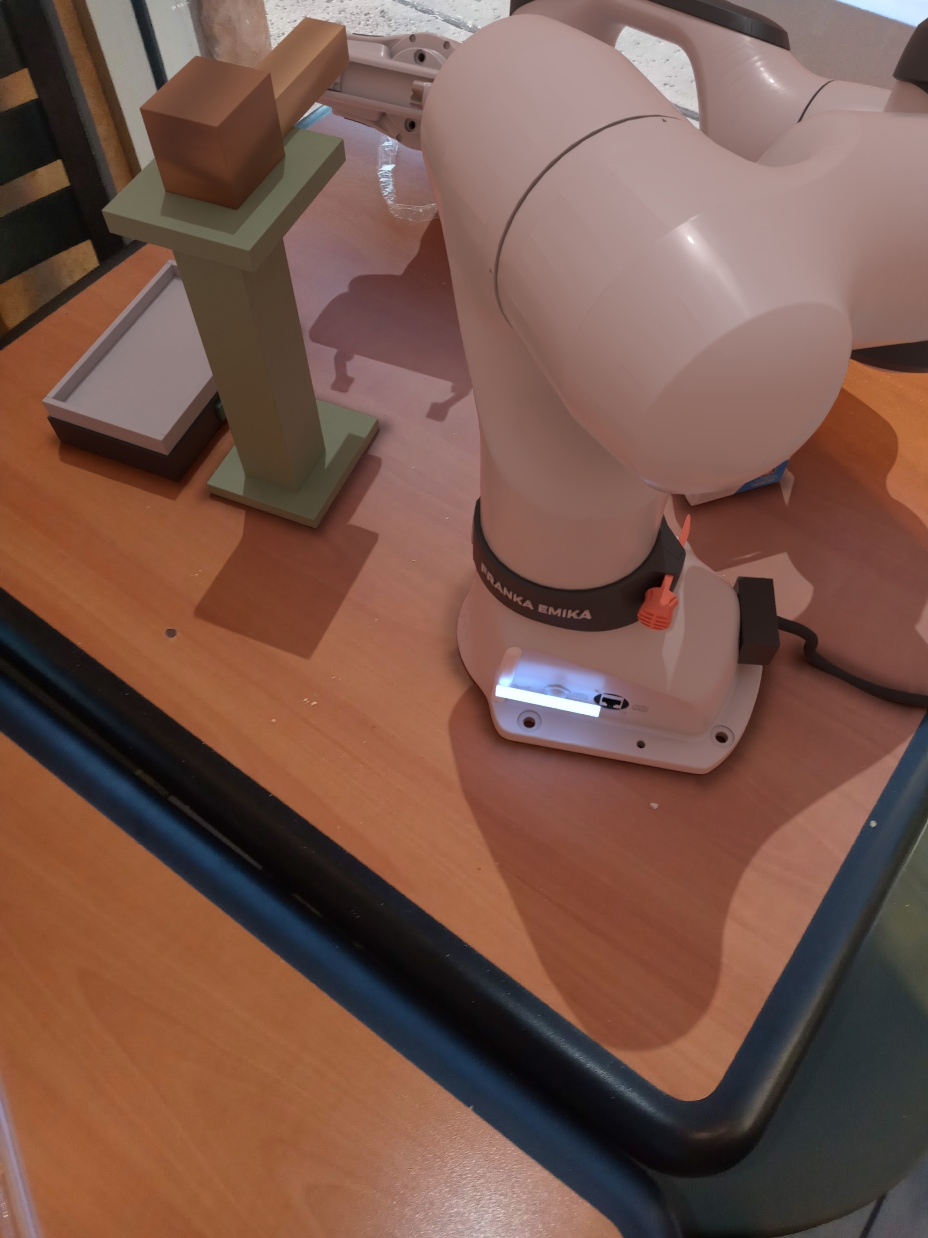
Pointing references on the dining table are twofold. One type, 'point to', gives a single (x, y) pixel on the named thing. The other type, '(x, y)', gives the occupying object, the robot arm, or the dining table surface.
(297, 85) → the mallet
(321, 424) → the stand
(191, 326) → the scale
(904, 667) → the dining table surface
